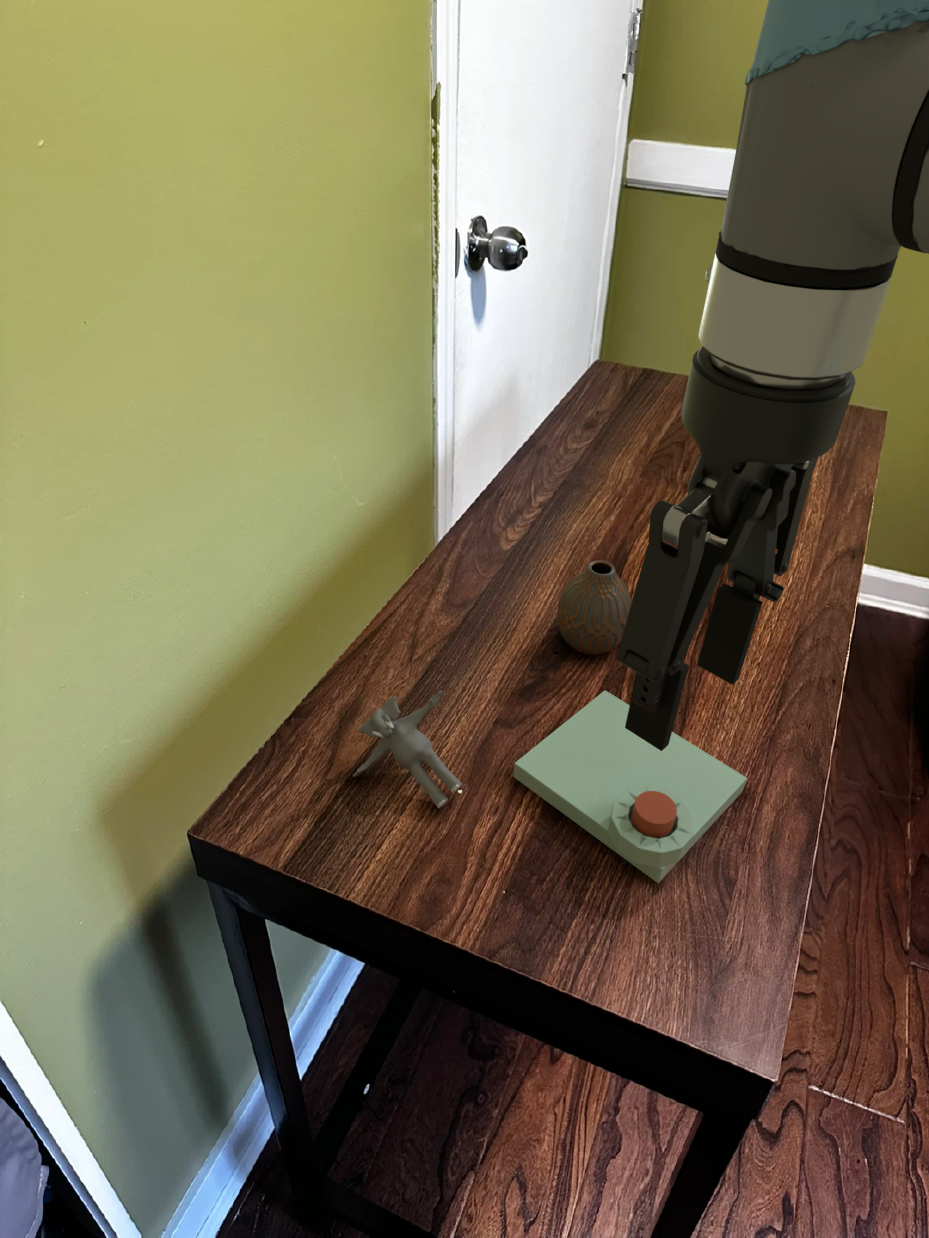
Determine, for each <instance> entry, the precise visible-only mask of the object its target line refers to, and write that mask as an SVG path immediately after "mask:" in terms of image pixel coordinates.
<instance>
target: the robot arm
mask: <svg viewBox="0 0 929 1238" xmlns="http://www.w3.org/2000/svg"><path fill="white" fill-rule="evenodd" d="M765 9H766V10H765V12H764V17H763V22H762V25H761V28H760V33H759V36H758V41H757V45H756V48H755V52H754V57H753V59H752V63H751V67H750V68H749V70H748V72H747V73H746V75H745V81H744V87H746V89H745V95H744V100H743V107H742V112H741V119H740V125H739V130H738V138H737V142H736V147H735V149H736V150H735V155H734V161H733V165H732V169H731V175H730V179H729V180H730V181H729V185H728V190H727V191H728V192H727V195H726V201H725V202H726V203H725V207H724V212H723V219H722V222H721V228H720V231H719V232H718V238H717V242H716V247H715V254H714V258H713V263H711V264H710V265H709V266H708V268H707V269H706V270H705V277H704V278H705V280H706V283H708V286H707V291H706V295H705V301H704V305H703V312H702V316H701V320H700V326H699V330H698V331H699V332H698V336H697V337H698V339H699V341H700V344H701V345H702V346H700V348H699V349H697V350H696V351H695V353H694V354H693V356H692V358H691V362H690V363H691V364H690V368H689V373H688V377H687V383H686V389H685V394H684V399H683V403H682V408H681V420H682V424H683V426H684V428H685V429H686V432H687V433H688V434H690V436H691V438H692V439H693V440H694V442H695V443H696V445H697V447H698V449H699V453H700V455H699V457H698V459H697V461H696V464H695V466H694V469H693V471H692V473H691V475H690V477H689V481H688V483H687V486H686V490H687V491H686V492H687V495H685V497H683V499H681V500H680V501H679V502H678V503H677V504H673V503H671V502H669V501H667V500H665V499H660V500H658V501H657V502H656V503H655V504H654V506H653V507H652V510H651V512H650V516H649V529H648V543H647V547H646V550H645V554H644V557H643V561H642V565H641V568H640V572H639V575H638V579H637V582H636V586H635V589H634V593H633V597H632V599H631V602H632V603H631V607H630V611H629V614H628V618H627V621H626V625H625V628H624V632H623V635H622V639H621V642H620V643H619V645H618V650H617V653H616V661H617V662H619V663H621V664H623V665H624V666H625V667H627V668H628V669H631V670H632V671H634V672H635V678H634V683H633V688H632V692H631V697H630V702H629V705H630V706H629V711H628V715H627V720H626V725H625V728H626V729H627V730H629V731H631V732H632V733H634V734H635V735H637V736H638V737H640V738H642V739H643V740H645V741H646V742H648V743H649V744H651V745H652V746H654V747H656V748H657V749H659V750H660V751H662V750H664V749H665V748H666V747H667V746H668V745H669V741H670V737H671V734H672V732H673V729H674V725H675V721H676V717H677V714H678V711H679V706H680V702H681V699H682V695H683V692H684V689H685V688H684V687H685V684H686V680H687V676H688V672H689V668H690V664H689V663H686V662H685V661H684V659H685V657H686V654H687V653H688V650H689V648H690V646H691V643H692V641H693V639H694V637H695V634H696V632H697V630H698V627H699V625H700V623H701V621H702V618H703V616H704V614H705V612H706V610H707V607H708V605H709V602H710V601H711V599H712V596H713V594H714V592H715V590H716V588H717V590H716V593H715V597H714V600H713V605H712V609H711V612H710V614H709V615H710V616H709V619H708V623H707V627H706V631H705V634H704V638H703V642H702V645H701V649H700V652H699V657H698V661H697V663H696V666H698V667H699V668H701V669H703V670H705V671H706V672H708V673H710V674H712V675H714V676H715V677H718V678H719V679H721V680H723V681H725V682H726V683H728V684H730V685H731V686H733V685H734V684H735V683H736V682H737V681H738V680H739V678H740V676H741V672H742V669H743V667H744V663H745V660H746V656H747V653H748V650H749V648H750V644H751V642H752V637H753V634H754V632H755V628H756V625H757V621H758V619H759V615H760V612H761V609H762V606H763V603H764V602H763V601H762V600H760V598H761V597H762V598H764V599H766V600H768V601H770V602H772V603H777V602H778V600H780V598H781V596H782V595H783V592H784V590H785V586H784V585H781V584H779V583H777V582H775V581H774V576H777V577H782V576H783V575H784V574H786V573H787V571H788V569H789V566H790V563H791V558H792V555H793V550H794V547H795V543H796V539H797V535H798V531H799V528H800V523H801V520H802V515H803V511H804V507H805V504H806V500H807V496H808V493H809V489H810V484H811V480H812V476H813V473H814V470H815V468H816V465H817V463H818V460H819V458H820V457H822V456H823V455H825V454H826V453H828V452H829V451H830V450H831V449H832V448H833V447H834V445H835V444H836V442H837V440H838V438H839V434H840V432H841V427H842V425H843V422H844V419H845V417H846V413H847V411H848V407H849V404H850V401H851V397H852V395H853V392H854V389H855V386H856V377H855V375H854V374H853V371H855V370H857V369H859V368H860V367H861V366H863V364H864V362H865V359H866V357H867V354H868V350H869V348H870V345H871V341H872V338H873V335H874V332H875V330H876V326H877V323H878V320H879V316H880V313H881V311H882V307H883V305H884V301H885V298H886V295H887V292H888V289H889V286H890V283H891V280H892V275H893V272H894V268H895V265H896V263H897V259H898V258H899V257H898V256H899V252H900V249H901V247H902V248H904V249H906V250H911V251H914V252H918V253H922V254H928V255H929V0H768V2H767V5H766V8H765ZM711 534H713V535H715V536H717V537H720V538H723V539H728V540H727V543H726V544H723V543H721V542H718V541H716V540H714V539H712V538H710V535H711ZM726 565H727V581H729V582H731V583H732V584H733V585H732V586H731V585H729V584H727V583H724V582H723V583H722V584H721V585H719V587H717V584H718V583H719V580H720V579H721V575H722V573H723V571H724V569H725V567H726Z"/></svg>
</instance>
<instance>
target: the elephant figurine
mask: <svg viewBox="0 0 929 1238" xmlns="http://www.w3.org/2000/svg"><path fill="white" fill-rule="evenodd" d="M443 694H444V692H443V690H441V689H440V690H438V691H437V693H436V694H434V695H432V696H431V697H430V698H428V701H427V702H426V704H424V706H422V707H420V708H418V709H416V710H414V711H413V712H411V713H410V714H408V715H406V716H403V717H400V718H398V717H399V715H401V711H400V708H399V706H398V703H397V697H398V696H397V695H395V696H392V697H390V698H389V699H387V700H386V701H385V702H384V704H383V705H381V707H379V708H377V709H375V710H374V711H373V712H372V713H371V714H370V716H369V718H368V719H367V720H366V721H365V722H363V723H362V724H361V726H360V727H359V730H358V733H360V734H365V735H367V736H368V737H370V738H371V739H372V740H375V738H377V737H379V738H380V740H379V742H378V743H377V745H376V747H375V748H374V750H373V751H372V753H371V754H370V756H369V757H368V758H367V760H366V761H365V762H364V763H362V764H361V765H360V766H359V767H358V768H357V770H356V771H355V772H354V773H353V774H352V777H353V778H357V777H359V776H360V775H361V774H363V773H365V772H367V771H368V770H369V769H370V768H371V767H372V766H373V764H375V763H376V762H377V761H379V760H380V759H382V758H383V757H384V756H385V755H386V754H387V753H388V752H389V751H392V753H393V758H394V761H395V762H396V763H397V764H398V765H399V766H400V767H402V768H403V769H405V770H407V771H409V773H410V774H411V776H412V778H413V779H414V780H415V781H416V782H417V783H418V784H419V786H421V788H422V789H423V790H424V791H425V792H426V794H427V795H428V797H429V798H430V799H431V801H432V802H433V804H434V805H435V806H436V807H437V809H440V808H441V807H443V806H444V805H445V804H447V802H448V801H449V798H448V797H447V796H446V795H445V794H444V793H443V791H442V790H441V789H440V787H439V786H438V785H437V783H436V782H435V781H434V780H433V778H432V777H431V775H429V774H428V772H427V771H426V770H425V768H424V767H423V763H426V765H427V767H429V768H430V769H431V770H432V772H434V774H435V775H436V776H437V777H438V778H439V779H440V781H441V782H442V783H443V784H444V785H445V786H446V788H447V789H448V790H449V792H450V793H451V794H453V793H455V792H457V791H458V790H459V789H460V788H461V787H462V786H463V783H462V782H461V781H460V780H459V779H458V778H457V776H455V775H454V774H453V773H452V772H451V771H450V770H449V769H448V768H447V766H446V765H445V763H443V761H442V760H441V758H440V757H439V756H438V755H437V753H436V752H435V751H434V750H433V744H432V741H431V740H430V739H429V738H428V736H427V735H426V734H424V733H423V732H422V731H419V730H418V728H417V726H418V725H419V724H420V722H421V721H422V719H423V718H424V716H425V715H426V714H427V713H428V711H430V710H431V709H433V708H434V707H435V706H436V705H437V704H438V702H439V700H440V698H441V697H442V696H443Z"/></svg>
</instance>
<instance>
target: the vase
mask: <svg viewBox="0 0 929 1238" xmlns="http://www.w3.org/2000/svg"><path fill="white" fill-rule="evenodd" d="M631 603H632V597H631V594H630V591H629V590H628V587H627V585H626V584H625V583H624V582H623V580H622V579H621V578H620V576H619V575H618V573H617V571H616V568H615V566H614V565H613V564H612V562H610V561H607V560H603V559H600V560H599V559H597V560H593V561H590V563H589V564H588V565H587V566H586V567H585V569H584V570H582V571H580V573H578V574H577V575H575V576H574V577H573V578H572V579H570V581H568V583H567V584H566V585H565V587H564V589H563V591H562V592H561V595H560V597H559V599H558V605H557V611H556V612H557V614H556V615H557V616H556V619H557V626H558V630H559V632H560V634H561V636H562V638H563V639H564V641H565V642H566V643H567V644H568V645H569V646H570V647H571V648H572V649H574V650H575V651H577V652H580V653H581V654H586V655H593V656H595V655H601V654H605V653H607V652H610V651H612V650H613V649H615V648H616V647H617V646H619V645H620V643H621V639H622V635H623V632H624V628H625V625H626V621H627V618H628V614H629V611H630V607H631Z"/></svg>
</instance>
